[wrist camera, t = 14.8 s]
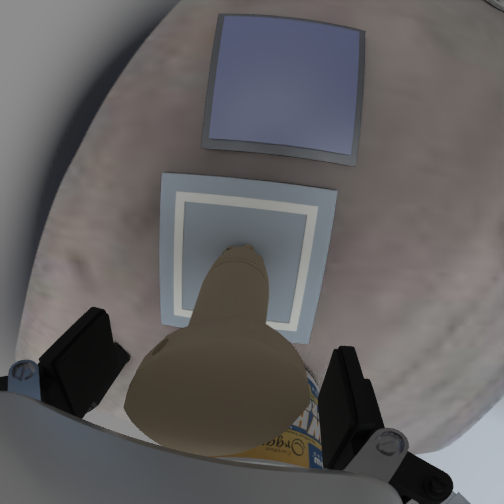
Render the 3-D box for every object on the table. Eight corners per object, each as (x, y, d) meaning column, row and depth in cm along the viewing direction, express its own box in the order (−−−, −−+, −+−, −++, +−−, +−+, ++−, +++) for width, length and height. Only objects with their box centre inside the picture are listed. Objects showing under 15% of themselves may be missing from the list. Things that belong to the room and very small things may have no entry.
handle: (190, 263, 23) (99, 397, 8) (254, 210, 22) (235, 302, 7) (230, 308, 24) (195, 468, 9) (295, 260, 22) (338, 406, 8)
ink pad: (221, 20, 18) (216, 8, 16) (361, 36, 17) (368, 26, 15) (204, 148, 21) (197, 147, 19) (351, 166, 21) (359, 167, 19)
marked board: (165, 172, 22) (161, 173, 21) (335, 190, 21) (338, 191, 20) (164, 319, 26) (160, 325, 25) (307, 338, 25) (308, 345, 24)
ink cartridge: (110, 372, 29) (78, 419, 22) (96, 358, 29) (60, 403, 21) (132, 356, 28) (98, 408, 20) (116, 341, 27) (78, 390, 20)
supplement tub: (342, 375, 26) (375, 530, 10) (279, 438, 30) (274, 563, 14) (230, 325, 26) (183, 504, 9) (184, 402, 29) (138, 533, 13)
